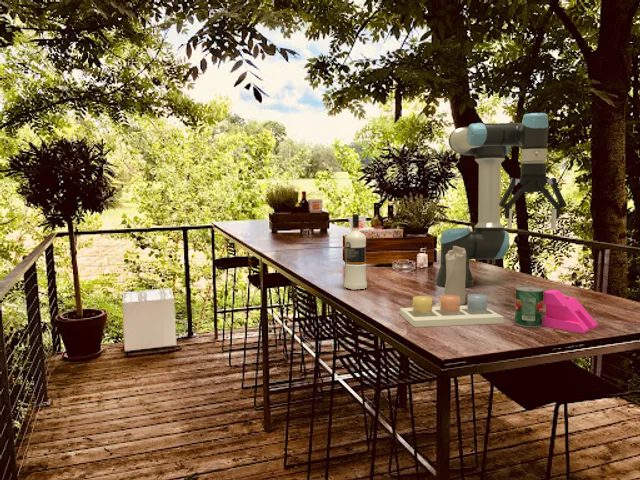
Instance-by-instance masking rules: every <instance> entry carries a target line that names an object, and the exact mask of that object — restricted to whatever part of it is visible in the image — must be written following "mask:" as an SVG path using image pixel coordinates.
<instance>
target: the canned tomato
mask: <svg viewBox="0 0 640 480" xmlns="http://www.w3.org/2000/svg"><path fill="white" fill-rule="evenodd" d="M544 289H545V288H542V287H540V286H533V285H532V286H531V285H522V286H521V285H519V286H516V287H515V305H514V306H515V309H514V313H515V314H514V324H515V325H517V326H519V327H523V328H542V327H543V317H544V316H543V315H544V314H543V313H544V311H543V310H544V292H545V290H544Z"/></svg>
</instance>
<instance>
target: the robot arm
mask: <svg viewBox="0 0 640 480" xmlns="http://www.w3.org/2000/svg"><path fill="white" fill-rule="evenodd" d="M548 137H549V115H548V114H547V113H545V112H531V113H525V114H524V115H522V122H503V123H502V122H500V123H499V122H497V123H496V122H493V123H491V122H489V123H487V122H486V123H485V122H484V123H482V122H476V123H471V124H469V126H462V127H459V128H456V129H454V130H453V131H452V132H451V133H450V134H449V136H448V145H449V147H450V149H451V150H452V151H453V152H455V153H456V154H459V155H463V156H472V157H473V156H474V161H475V162H476V163H477V164H478V207H477V209H478V215H477V216H478V218H477V220H478V221H477V223H476V225H474V227H473V228H474V230H472V229H471V228H470V227H454V228H448V229H445V230H444V231H442V232H441V235H440V237H441V238H440V242H439V243H440V266H439V269H438V272H437V274H436V276H435V277H436V278H435V284H436V286H439V287H444V288H445V284H446V254H448V251H449V250H453V246H458V247H460V248H465V251H466V280H465V288H471V287H473V286H474V278H473V274H472V270H471V267H470V261H471V260H492V261H494V260H501V259H503V258H505V256H506V255H507V253H508V250H509V245H510V237H509V236H510V235H509V233H508V231H507V230H512V228H513V227H512V224H513V209H512V208H511V207H512V206H513V205H514V204H515V203H516V201H517V200H519V198H520V197H521V196H523V194H524V193H533V192H534V193H539V192H540V193H541V194H542V195H543V196H544V197H545V198H546V200H547V201H548V202H549V203H550V204H551V206H552V207H553V208H551V216H550V218H551V219H550V229H551V230H556V229H557V228H556V227H557V226H556V225H557V220H559V219H560V214H561V213H560V210H561V209H562V208H565V207H567V203H566V201H565V199H564V196H563V195H562V193H561V190H560V189H559V186H558V183H557V181H558V180H557V178H556V177H551V178H547V164H546V163H545V162H547V159H548V157H547V156H548V155H547V153H548V149H547V148H548ZM513 146H514V147H521V156H520V157H521V159H520V161H521V165H520V178H516V177H515V178H514V177H511V178H510V180H509V185H508V187H507V188H506V191H505V192H504V194H503V196H502V198H501V185H502V184H501V175H502V173H501V170H502V169H501V167H502V163H503V162H504V161H505V160H506V157H505V156H508V155H509V154H510V152H511V151H510V150H511V149H510V148H511V147H513ZM518 183H519V185H520V186H521V187H520V188H519V189H518V191H517V192H516V193H515V194H514V195H513V196H512V197H511V198H510V195H511V194H512V192H513V190H514V189H515V186H517V185H518ZM547 184H548V185H549V186H550V187H551V189H552V191H553V193H554V195H555V197H556V199H555V198H554V197H553V195H551V193H549V191H548V190H547V188H546V187H545V186H546V185H547ZM509 198H510V200H509ZM556 200H557V201H556ZM507 201H508V202H507ZM501 208H503V209H504V219H507V225H506V226H507V230H505V226H504V225H503V224H502V223H501Z"/></svg>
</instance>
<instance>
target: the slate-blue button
mask: <svg viewBox="0 0 640 480" xmlns="http://www.w3.org/2000/svg"><path fill="white" fill-rule="evenodd" d="M466 305H467V308H468V309H471V310H486V309H487V308H488V295H487V294H484V293H483V294H482V293H469V294H467V304H466Z"/></svg>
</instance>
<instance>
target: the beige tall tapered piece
mask: <svg viewBox="0 0 640 480" xmlns="http://www.w3.org/2000/svg"><path fill="white" fill-rule="evenodd" d="M465 280H466V251H465V248H460V247H458V246H453V250H449V251H448V254H446V284H445V287H444V294H443V295H456V296H459V297H460V306H463V305H464V304H466V287H465ZM432 307H440V301H439V302H435V303H434V304H432Z"/></svg>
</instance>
